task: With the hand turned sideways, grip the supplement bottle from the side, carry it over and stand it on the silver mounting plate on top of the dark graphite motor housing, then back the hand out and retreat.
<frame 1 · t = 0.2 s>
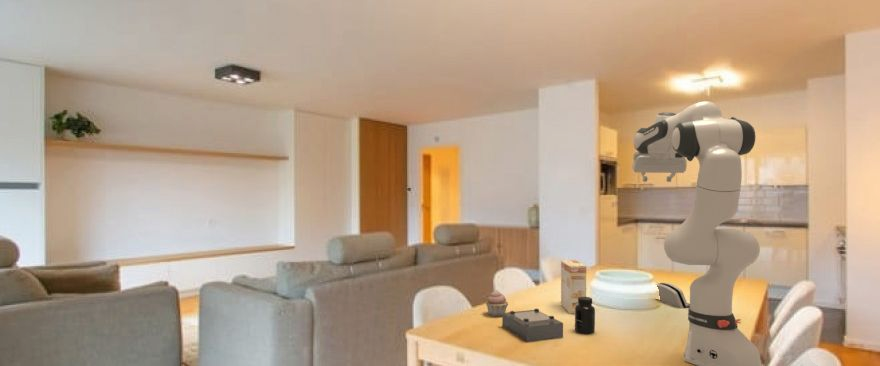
hand: (656, 181, 198), 54 cm above the table, tool tilted 30°, fingers open, 8 cm apart
supplement bottle: (584, 332, 168), on the table
motor housing: (531, 331, 168), on the table
grey curved wedge: (670, 304, 208), on the table
coffeecake box: (573, 309, 198), on the table
cupcake: (496, 315, 190), on the table
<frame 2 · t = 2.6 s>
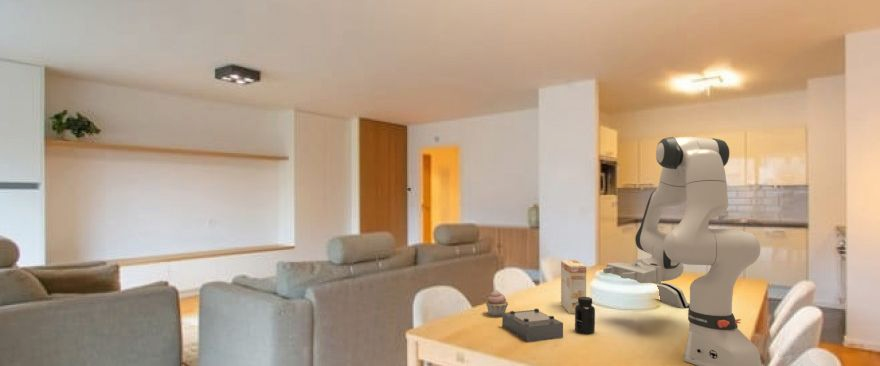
hand: (612, 273, 172), 20 cm above the table, tool horizontal, fingers open, 8 cm apart
nothing on the table moved.
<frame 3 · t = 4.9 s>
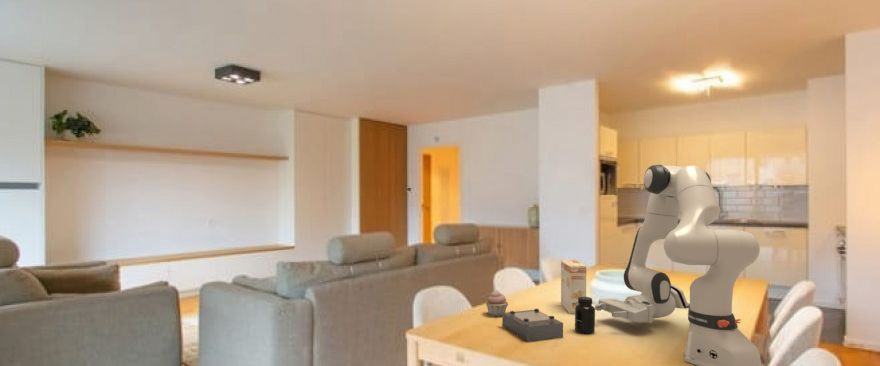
hand: (604, 311, 171), 6 cm above the table, tool horizontal, fingers open, 8 cm apart
nothing on the table moved.
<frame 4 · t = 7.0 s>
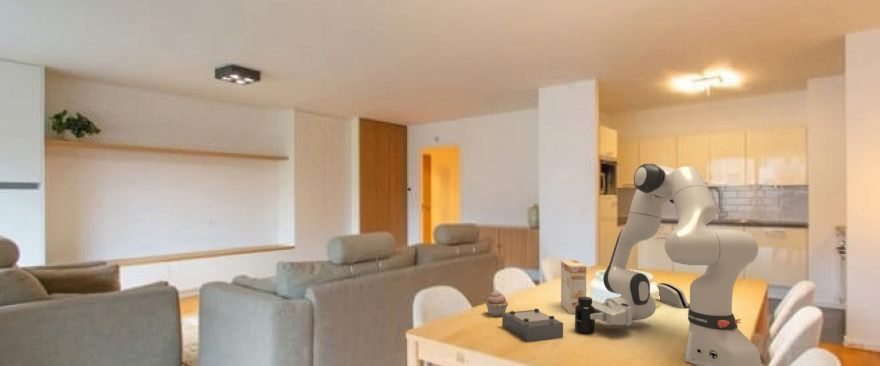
hand: (582, 313, 168), 7 cm above the table, tool horizontal, fingers closed on supplement bottle, 7 cm apart
supplement bottle: (584, 332, 168), on the table, touching gripper
everything else where it was.
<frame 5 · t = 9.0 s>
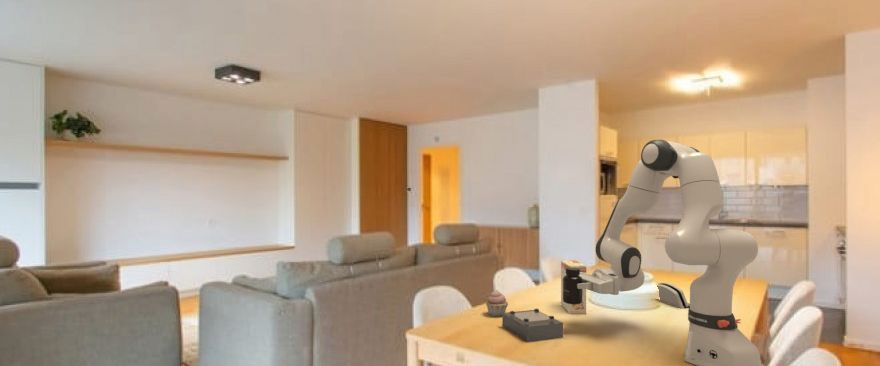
hand: (570, 283, 168), 17 cm above the table, tool horizontal, fingers closed on supplement bottle, 7 cm apart
supplement bottle: (572, 302, 169), point 10 cm above the table, touching gripper
everything else where it was.
when the fingers open (13 cm above the table, at t = 11.3 s): supplement bottle moves 1 cm, resting on motor housing.
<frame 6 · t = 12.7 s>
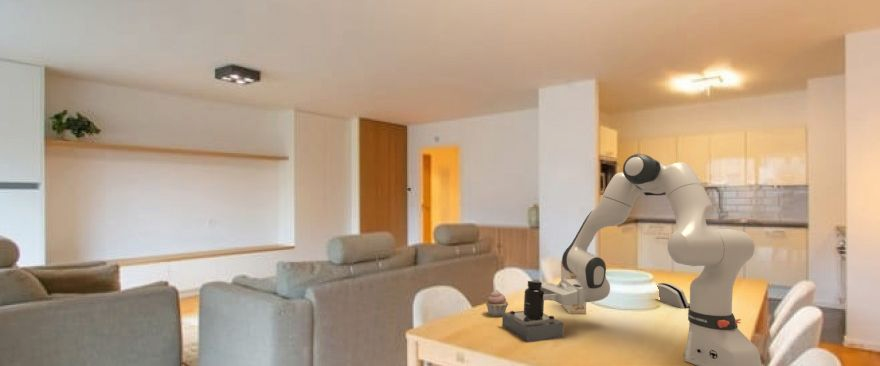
hand: (535, 294, 168), 13 cm above the table, tool horizontal, fingers open, 8 cm apart
supplement bottle: (533, 316, 166), point 6 cm above the table, touching gripper, motor housing
everything else where it was.
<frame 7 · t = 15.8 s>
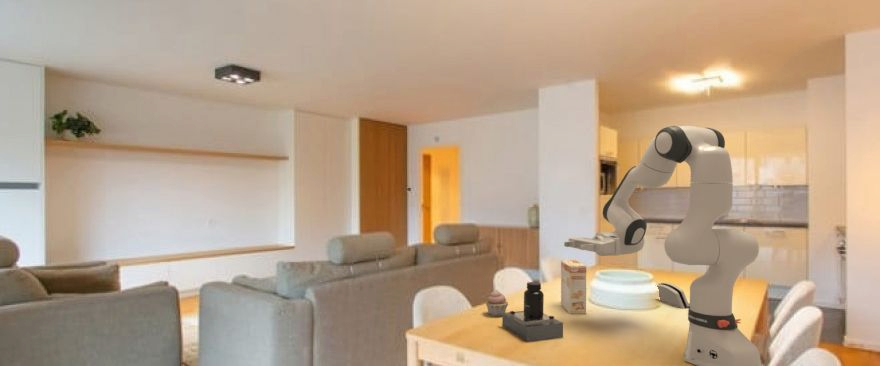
hand: (572, 245, 173), 30 cm above the table, tool horizontal, fingers open, 8 cm apart
supplement bottle: (533, 317, 166), point 5 cm above the table, touching motor housing
everything else where it was.
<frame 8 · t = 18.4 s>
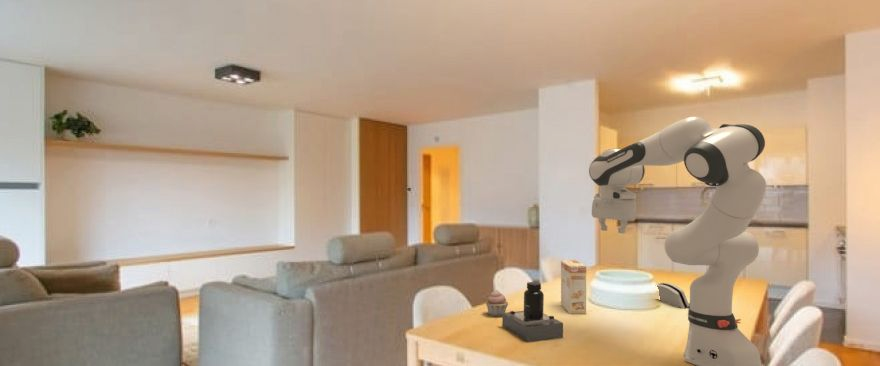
hand: (612, 231, 172), 35 cm above the table, tool pointing down, fingers open, 8 cm apart
nothing on the table moved.
at the end: supplement bottle inside the target area on the motor housing (1.6 cm from its centre), point 5.4 cm above the motor housing's base; supplement bottle tilted 0°; the gripper is holding nothing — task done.
